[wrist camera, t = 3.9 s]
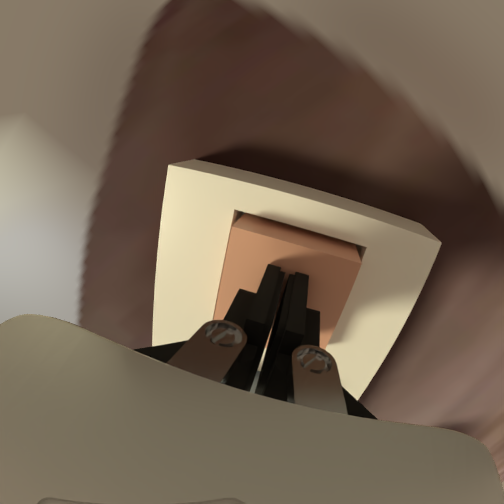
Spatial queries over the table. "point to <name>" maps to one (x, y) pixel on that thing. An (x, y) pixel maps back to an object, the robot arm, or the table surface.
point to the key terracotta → (289, 266)
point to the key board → (297, 214)
